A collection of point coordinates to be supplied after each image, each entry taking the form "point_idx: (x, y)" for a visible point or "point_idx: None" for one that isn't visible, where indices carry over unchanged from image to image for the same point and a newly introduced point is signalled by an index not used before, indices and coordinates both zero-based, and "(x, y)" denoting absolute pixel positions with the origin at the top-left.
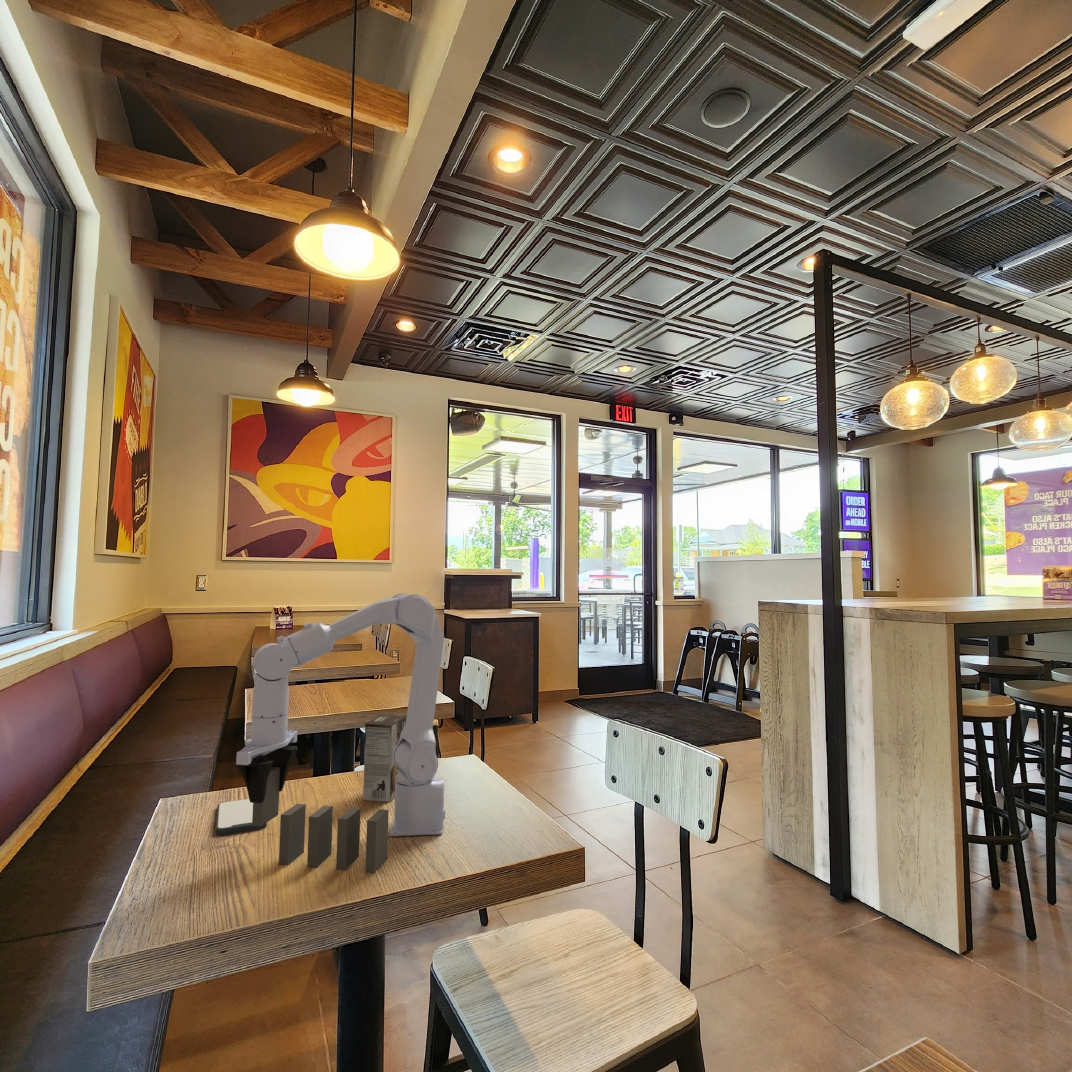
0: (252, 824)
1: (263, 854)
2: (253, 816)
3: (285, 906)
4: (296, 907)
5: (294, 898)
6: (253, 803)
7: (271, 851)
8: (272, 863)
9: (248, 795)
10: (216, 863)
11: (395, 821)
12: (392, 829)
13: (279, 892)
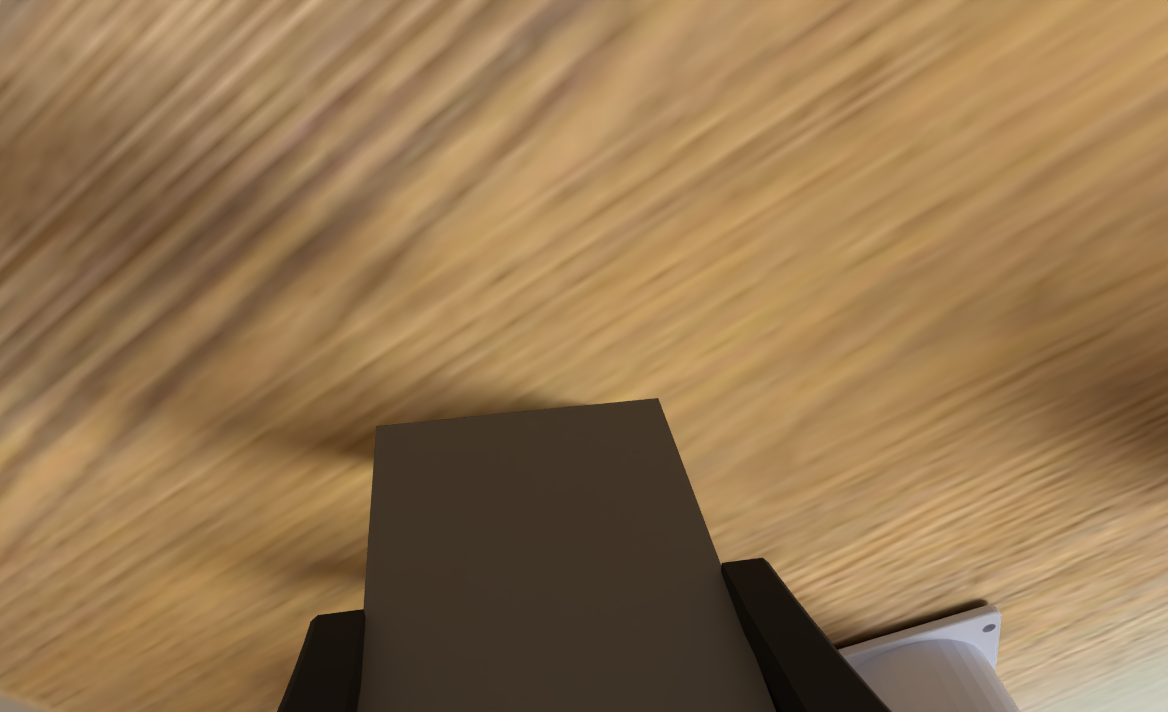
0: (376, 436)
1: (524, 260)
2: (375, 494)
3: (74, 659)
4: (93, 690)
5: (150, 651)
6: (367, 596)
7: (576, 280)
8: (424, 383)
9: (293, 680)
10: (290, 18)
11: (876, 693)
12: (852, 659)
13: (160, 582)
